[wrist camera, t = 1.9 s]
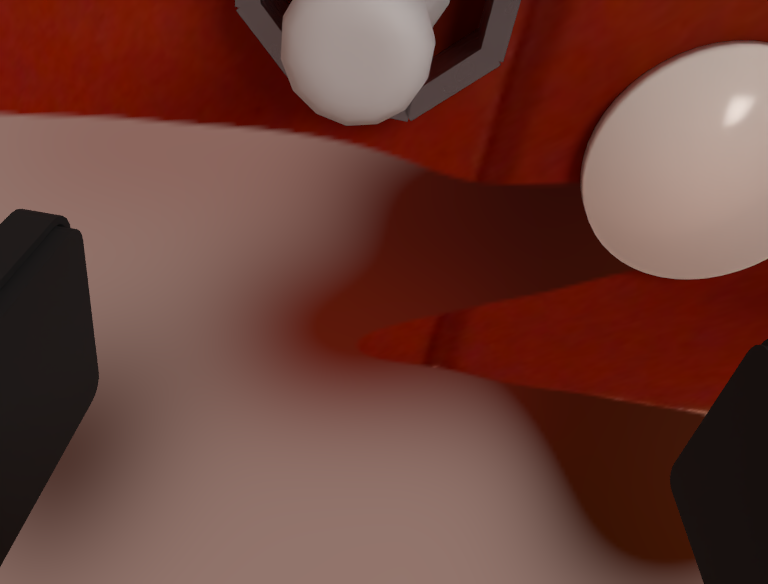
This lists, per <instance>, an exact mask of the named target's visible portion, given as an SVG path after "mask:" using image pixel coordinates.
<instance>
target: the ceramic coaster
mask: <svg viewBox="0 0 768 584" xmlns="http://www.w3.org/2000/svg"><path fill="white" fill-rule="evenodd" d="M580 188H581V196H582V201H583V205H584V208H585V211H586V215H587V218H588V220H589V223H590V225H591V227H592V229H593V231H594V234H595V235H596V236H597V238H598V239H599V241H600V242H601V244H602V245H603V246H604V247H605V248H606V249H607V250H608V251H609V252H610V253H611V254H612V255H613V256H615V257H616V258H617V259H619V260H620V261H621V262H623V263H625V264H627V265H628V266H630V267H632V268H634V269H636V270H639V271H641V272H644V273H647V274H651V275H654V276H658V277H664V278H671V279H703V278H711V277H716V276H722V275H726V274H730V273H733V272H737V271H740V270H743V269H745V268H748V267H751V266H754V265H756V264H758V263H760V262H762V261H764V260H766V259H768V42H762V41H755V40H734V41H726V42H717V43H713V44H709V45H705V46H700V47H697V48H694V49H691V50H688V51H686V52H683V53H680V54H678V55H676V56H674V57H672V58H670V59H668V60H666V61H664V62H662V63H660V64H658V65H657V66H655V67H653V68H652V69H650V70H649V71H647V72H646V73H644V74H643V75H641V76H640V77H639V78H638V79H636V80H635V81H634V82H633V83H631V84H630V85H629V86H628V87H627V88H626V89H625V90H624V91H623V92H622V93H621V94H620V95H619V96H618V97H617V98H616V99H615V100H614V101H613V102H612V104H611V105H610V106H609V107H608V109H607V110H606V111H605V112H604V114H603V115H602V117H601V119H600V120H599V122H598V123H597V125H596V127H595V128H594V131H593V133H592V135H591V137H590V139H589V141H588V144H587V147H586V150H585V153H584V156H583V161H582V167H581V176H580Z"/></svg>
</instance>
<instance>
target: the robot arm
mask: <svg viewBox="0 0 768 584" xmlns="http://www.w3.org/2000/svg"><path fill="white" fill-rule="evenodd" d="M98 379H99V372H98V363H97V355H96V346H95V338H94V329H93V321H92V312H91V304H90V295H89V288H88V278H87V270H86V261H85V253H84V244H83V239H82V234H81V233H80V231H79V230H77V229H72V228H70V224H69V222H68V220H67V218H65V217H63V216H60V215H54V214H48V213H43V212H37V211H31V210H25V209H17V210H15V211H14V212H12V213H11V214H10V215H9V216H8V217H7V218H6V219H5V220H4V221H3V222H2V223H1V224H0V566H1V564H2V563H3V561H4V559H5V557H6V555H7V554H8V552H9V550H10V548H11V546H12V545H13V543H14V541H15V539H16V537H17V536H18V534H19V532H20V530H21V528H22V526H23V525H24V523H25V521H26V519H27V517H28V516H29V514H30V512H31V510H32V509H33V507H34V505H35V503H36V501H37V499H38V498H39V496H40V494H41V492H42V491H43V488H44V487H45V485H46V483H47V482H48V480H49V478H50V476H51V474H52V473H53V471H54V469H55V467H56V465H57V464H58V462H59V460H60V458H61V456H62V455H63V453H64V451H65V449H66V447H67V445H68V444H69V442H70V440H71V438H72V436H73V435H74V433H75V431H76V429H77V427H78V426H79V424H80V422H81V420H82V419H83V417H84V415H85V413H86V411H87V410H88V408H89V406H90V404H91V402H92V400H93V398H94V396H95V393H96V390H97V386H98ZM670 484H671V489H672V492H673V495H674V498H675V501H676V504H677V507H678V510H679V513H680V516H681V519H682V522H683V524H684V527H685V530H686V533H687V536H688V539H689V542H690V545H691V547H692V550H693V553H694V556H695V559H696V562H697V565H698V567H699V570H700V573H701V576H702V579H703V582H704V584H768V339H767V340H765V341H764V342H763V343H762V344H761V345H755V346H754V347H752V348H751V349H750V350H749V351H748V352H747V354H746V355H745V357H744V358H743V360H742V361H741V363H740V364H739V366H738V368H737V369H736V371H735V372H734V374H733V375H732V377H731V378H730V380H729V381H728V383H727V384H726V386H725V387H724V389H723V390H722V392H721V393H720V395H719V396H718V398H717V399H716V401H715V402H714V404H713V405H712V407H711V408H710V410H709V412H708V413H707V415H706V416H705V418H704V419H703V421H702V423H701V424H700V425H699V427H698V428H697V430H696V431H695V433H694V434H693V436H692V437H691V439H690V440H689V442H688V444H687V445H686V446H685V448H684V449H683V451H682V453H681V454H680V456H679V457H678V459H677V460H676V462H675V463H674V465H673V467H672V471H671V476H670Z"/></svg>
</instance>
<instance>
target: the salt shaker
mask: <svg viewBox="0 0 768 584" xmlns="http://www.w3.org/2000/svg"><path fill="white" fill-rule="evenodd" d="M449 2H450V0H292V2H291V3H290V5H289V7H288V9H287V10H286V12H285V14H284V15H283V22H282V43H281V61H282V63H283V66H284V69H285V71H286V74H287V77H288V79H289V82H290V84H291V87H292V90H293V91H294V92H295V93H296V94H297V95H298V96H299V97H300V98H301V99H302V100H303V101H304V102H305V103H306V104H307V105H308V106H309V107H310V108H311V109H312V110H313V111H314V112H315V113H316V114H319V115H321V116H323V117H326V118H328V119H331V120H333V121H336V122H338V123H341V124H343V125H345V126H351V125H369V124H379V123H380V122H382V121H384V120H386V119H388V118H390V117H392V116H394V115H396V114H398V113H400V112H402V111H404V110H406V108H407V107H408V106H409V104H410V103H411V101H412V100H413V99H414V97H415V96H416V94H417V93H418V92H419V90H420V89H421V88H422V86H423V85H424V83H425V82H426V80H427V79H428V77H429V72H430V67H431V62H432V57H433V52H434V47H435V36H434V32H433V29H432V28H433V26H434V25H435V23H436V22H437V20H438V19H439V18H440V16H441V15H442V13H443V12H444V11H445V9H446V8H447V6H448V5H449Z"/></svg>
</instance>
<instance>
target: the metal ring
mask: <svg viewBox="0 0 768 584" xmlns="http://www.w3.org/2000/svg"><path fill="white" fill-rule="evenodd" d="M520 1H521V0H485V4H484V8H483V12H482V15H481V19H480V23H479V27H478V28H477V29H476V30H474V31H473V32H471V33H470V34H468V35H467V36H465V37H464V38H462V39H460V40H459V41H457V42H456V43H454V44H453V45H451V46H450V47H448V48H447V49H445V50H444V51H442V52H441V53H439V54H438V55H436V56H435V57H433V58H432V62H431V67H430V72H429V77H428V79H427V80H426V82H425V83H424V85H423V86H422V88H421V89H420V90H419V92H418V93H417V94H416V96H415V97H414V99H413V100H412V101H411V103H410V104H409V106H408V107H407V108H406V110H404V111H402V112H400V113H398V114H396V115H394V116H392V117H390V118H392V119H397V120H402V121H407V122H408V118H409V119H410V121H412V120H413V119H415V118H417V117H418V116H420V115H421V114H423V113H425V112H426V111H428V110H430V109H431V108H433V107H434V106H436V105H438V104H439V103H441V102H442V101H444V100H446V99H447V98H449V97H450V96H452V95H454V94H455V93H457V92H458V91H460V90H462V89H463V88H465V87H466V86H468V85H470V84H471V83H473V82H474V81H476V80H478V79H479V78H481V77H482V76H484V75H486V74H487V73H489V72H490V71H492V70H494V69H495V68H497V67H499V66H500V65H501V64H500V62H503V61H504V57H505V54H506V50H507V47H508V43H509V40H510V36H511V33H512V29H513V26H514V22H515V19H516V15H517V12H518V8H519V5H520ZM235 7H239V8H238V9H237V10H236V11H237V12H238V14H239V15H240V16H241V17H242V19H243V20H244V21H245V23H246V24H247V25H248V27H249V28H250V29H251V31H252V32H253V33H254V34H255V36H256V37H257V38H258V40H259V41H260V42H261V44H262V45H263V46H264V47H265V49H266V50H267V51H268V53H269V54H270V55H271V57H272V58H273V59H274V61H275V62H276V63H277V64H278V66H279V67H280V68H281V70H282V71H283V72H284V74H285V75H286V76H287V74H286V71H285V69H284V66H283V63H282V61H281V43H282V22H283V15H284V14H285V12H286V10H287V9H288V7H289V3H288V2H287V1H286V0H235Z"/></svg>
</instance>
